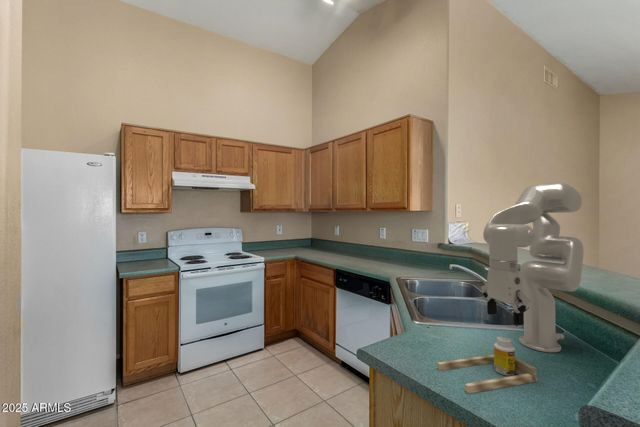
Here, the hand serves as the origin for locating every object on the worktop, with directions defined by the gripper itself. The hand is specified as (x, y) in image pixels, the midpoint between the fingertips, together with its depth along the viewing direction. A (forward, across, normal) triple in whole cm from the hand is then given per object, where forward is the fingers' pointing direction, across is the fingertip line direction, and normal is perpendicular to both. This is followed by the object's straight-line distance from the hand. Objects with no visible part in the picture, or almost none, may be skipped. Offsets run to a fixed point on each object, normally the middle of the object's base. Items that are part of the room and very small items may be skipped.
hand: (504, 319), depth 91 cm
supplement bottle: (+16, 0, +1) cm, 16 cm away
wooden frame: (+16, 0, +8) cm, 18 cm away
